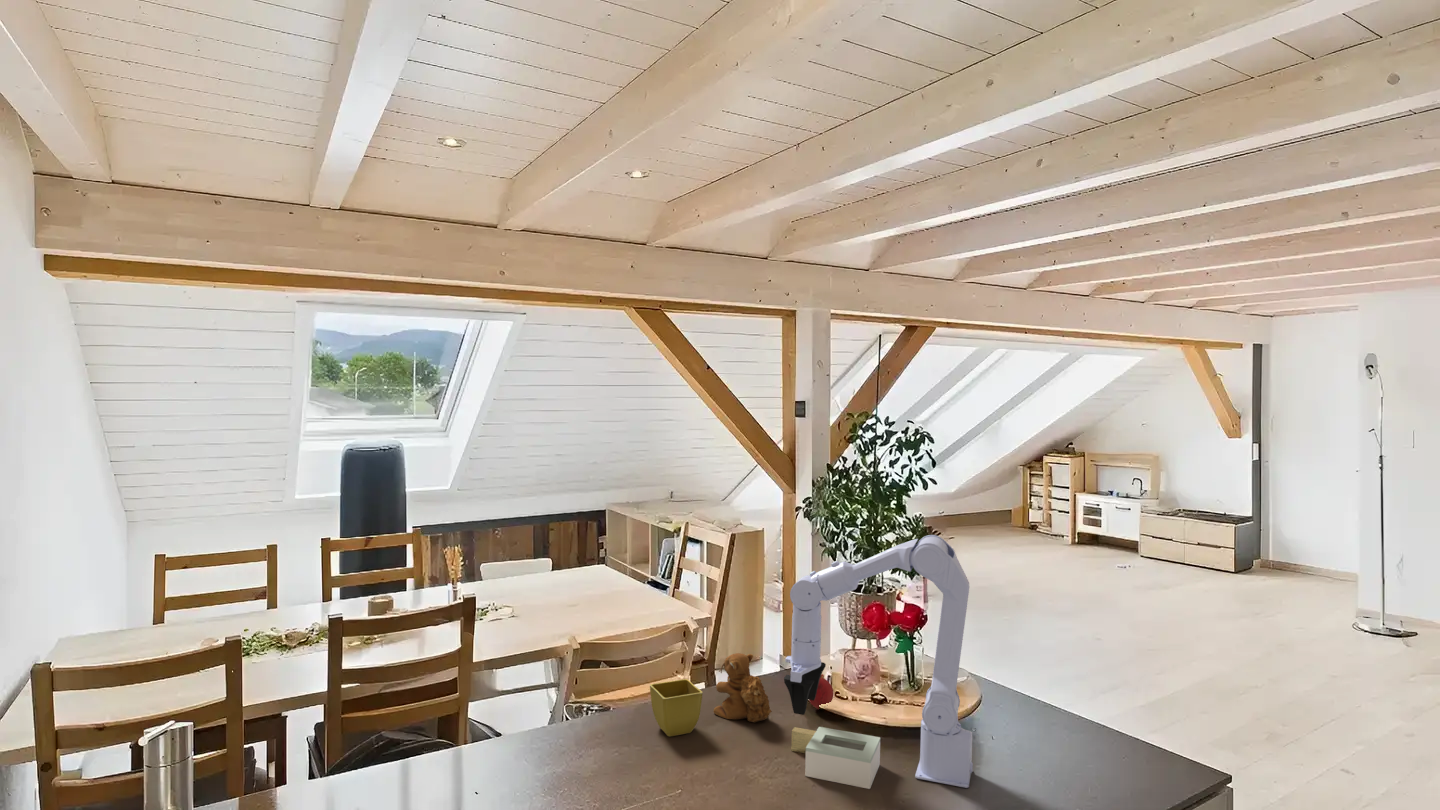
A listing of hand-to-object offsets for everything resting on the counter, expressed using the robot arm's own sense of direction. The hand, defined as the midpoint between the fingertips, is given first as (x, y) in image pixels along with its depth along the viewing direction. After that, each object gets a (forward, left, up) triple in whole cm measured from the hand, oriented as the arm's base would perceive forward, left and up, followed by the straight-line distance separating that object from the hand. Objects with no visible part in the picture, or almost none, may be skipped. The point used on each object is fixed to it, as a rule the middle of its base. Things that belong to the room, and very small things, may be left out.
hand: (804, 706), depth 159 cm
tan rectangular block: (0, 0, -9) cm, 9 cm away
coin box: (-9, +5, -9) cm, 14 cm away
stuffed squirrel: (+16, -11, -9) cm, 22 cm away
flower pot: (+27, +2, -9) cm, 28 cm away
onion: (+2, -21, -9) cm, 23 cm away
